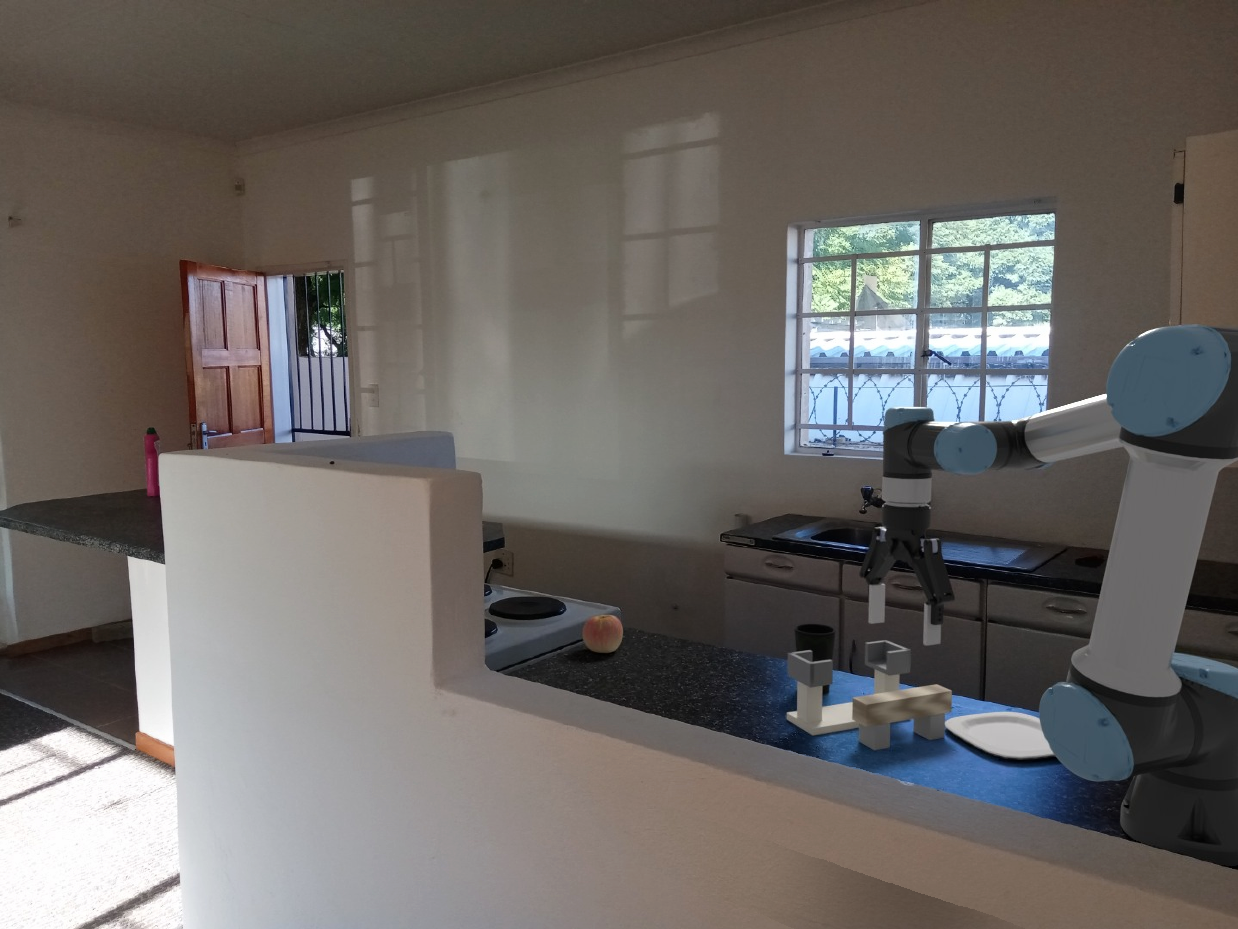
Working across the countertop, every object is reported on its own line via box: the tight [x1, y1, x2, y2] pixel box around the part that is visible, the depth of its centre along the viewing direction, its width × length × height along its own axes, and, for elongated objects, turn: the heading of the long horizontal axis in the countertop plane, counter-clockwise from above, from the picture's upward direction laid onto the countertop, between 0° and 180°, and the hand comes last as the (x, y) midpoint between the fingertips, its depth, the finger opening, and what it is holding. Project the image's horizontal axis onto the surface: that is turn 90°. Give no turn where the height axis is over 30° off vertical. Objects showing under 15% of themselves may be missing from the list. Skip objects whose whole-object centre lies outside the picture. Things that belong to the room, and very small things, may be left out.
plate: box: [945, 711, 1056, 761], centre depth 147 cm, size 18×18×2 cm
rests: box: [858, 713, 946, 751], centre depth 148 cm, size 4×14×4 cm, turn 112°
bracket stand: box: [786, 639, 912, 736], centre depth 156 cm, size 8×21×12 cm, turn 112°
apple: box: [582, 614, 624, 654], centre depth 198 cm, size 9×9×8 cm
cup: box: [793, 623, 837, 696], centre depth 171 cm, size 8×8×12 cm
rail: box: [852, 684, 953, 727], centre depth 147 cm, size 17×4×4 cm, turn 112°
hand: (902, 633), depth 146 cm, fingers open, 13 cm apart
